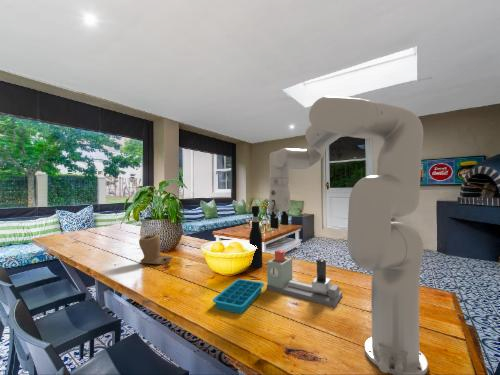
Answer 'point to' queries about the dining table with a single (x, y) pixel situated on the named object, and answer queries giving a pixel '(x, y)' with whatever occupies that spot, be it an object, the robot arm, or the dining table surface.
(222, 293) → the ice cube tray
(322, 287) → the carriage
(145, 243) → the brown boot
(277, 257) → the button
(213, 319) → the dining table surface
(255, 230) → the wine bottle
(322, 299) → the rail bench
